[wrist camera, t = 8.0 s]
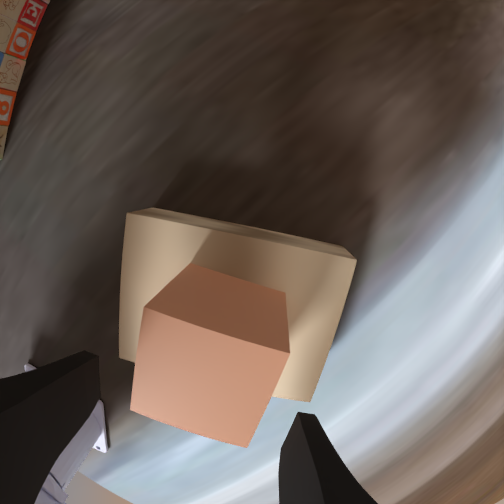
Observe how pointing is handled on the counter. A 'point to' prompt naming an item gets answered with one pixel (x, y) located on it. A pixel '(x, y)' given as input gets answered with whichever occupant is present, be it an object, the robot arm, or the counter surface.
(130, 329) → the birch block
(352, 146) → the counter surface
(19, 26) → the stack of blocks
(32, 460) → the robot arm
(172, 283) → the terracotta block
